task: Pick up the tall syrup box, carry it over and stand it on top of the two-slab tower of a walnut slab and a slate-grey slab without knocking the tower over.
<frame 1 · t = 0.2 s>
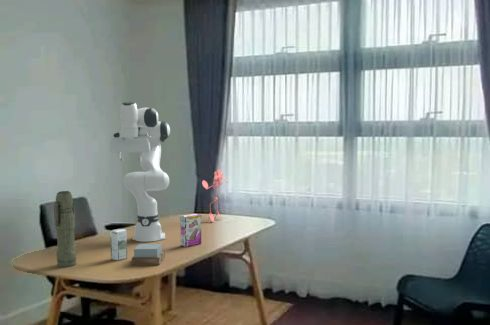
hand: (130, 161, 280), 47 cm above the table, tool pointing down, fingers open, 8 cm apart
tower bottom: (148, 262, 265), on the table, touching tower top
candy bar box: (191, 245, 299), on the table
figurine: (219, 221, 367), on the table
thermos: (67, 265, 261), on the table
tower top: (148, 254, 264), point 3 cm above the table, touching tower bottom
syrup box: (119, 259, 271), on the table
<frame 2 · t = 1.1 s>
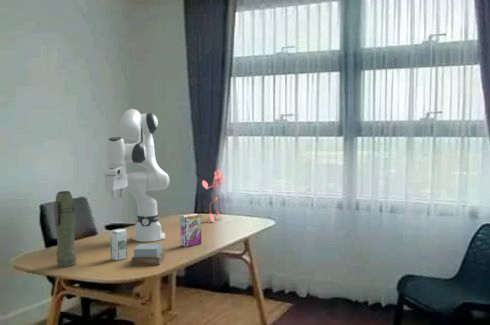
hand: (117, 198, 270), 30 cm above the table, tool pointing down, fingers open, 8 cm apart
nothing on the table moved.
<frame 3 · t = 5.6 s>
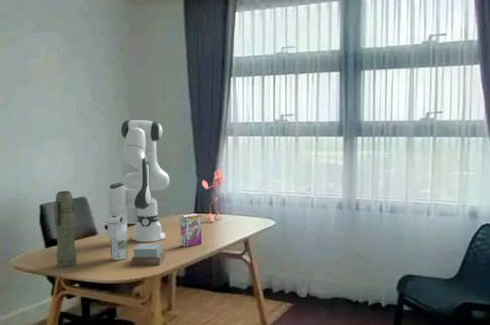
hand: (118, 244, 270), 7 cm above the table, tool pointing down, fingers closed on syrup box, 7 cm apart
syrup box: (119, 259, 271), on the table, touching gripper
everything else where it was.
when the fingers open (16 cm above the table, at t = 16.6 s): syrup box drops 1 cm, point 7 cm above the table.
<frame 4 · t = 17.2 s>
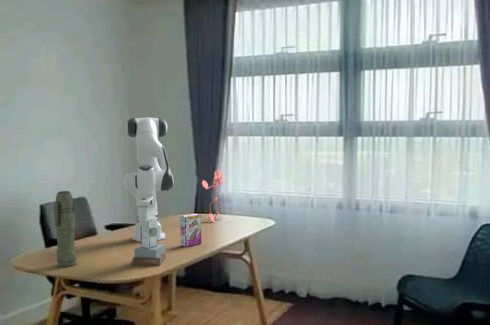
hand: (147, 228, 264), 16 cm above the table, tool pointing down, fingers open, 8 cm apart
syrup box: (149, 247, 264), point 7 cm above the table, touching gripper
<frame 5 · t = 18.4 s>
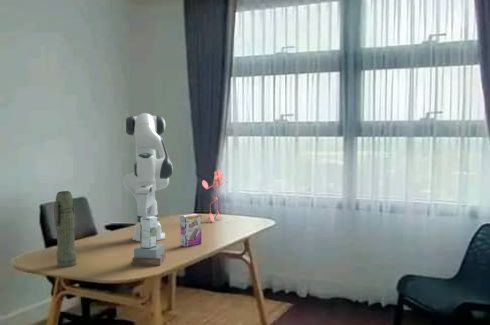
hand: (147, 216, 263), 22 cm above the table, tool pointing down, fingers open, 8 cm apart
tower top: (149, 255, 264), point 3 cm above the table, touching syrup box, tower bottom
syrup box: (148, 247, 263), point 7 cm above the table, touching tower top
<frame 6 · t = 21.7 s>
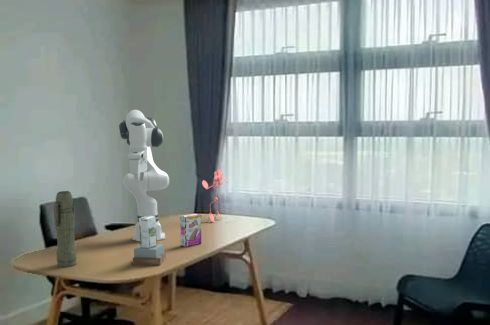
hand: (139, 181, 276), 37 cm above the table, tool pointing down, fingers open, 8 cm apart
syrup box: (149, 247, 264), point 7 cm above the table, touching tower top
everything else where it was.
at the end: syrup box 0.4 cm off-centre on the tower bottom, point 7.9 cm above the tower bottom's base; syrup box tilted 2°; tower top 0.3 cm off-centre on the tower bottom, point 4.0 cm above the tower bottom's base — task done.
